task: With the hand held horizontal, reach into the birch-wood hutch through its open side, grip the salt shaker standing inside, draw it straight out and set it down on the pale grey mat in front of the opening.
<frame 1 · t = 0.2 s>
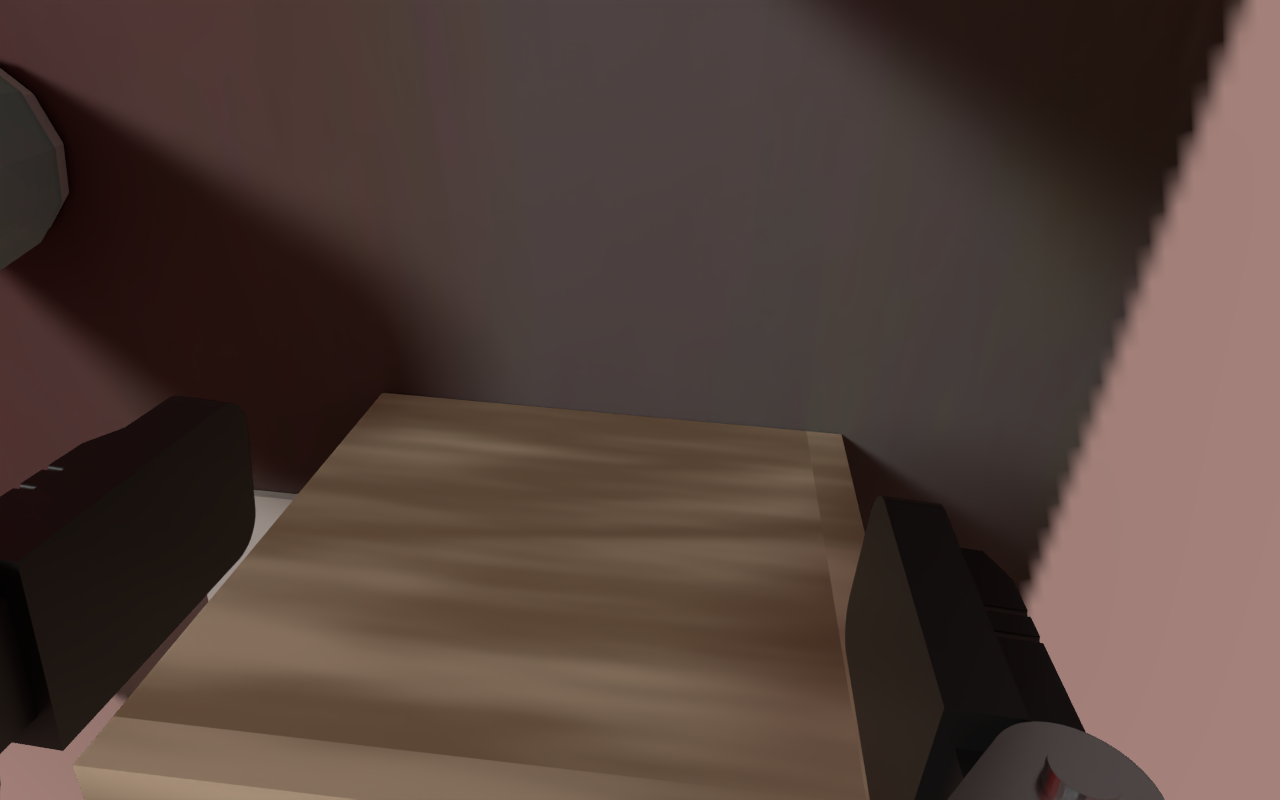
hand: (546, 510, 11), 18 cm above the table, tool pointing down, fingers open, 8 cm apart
hutch: (596, 627, 35), on the table
mat: (303, 577, 35), on the table
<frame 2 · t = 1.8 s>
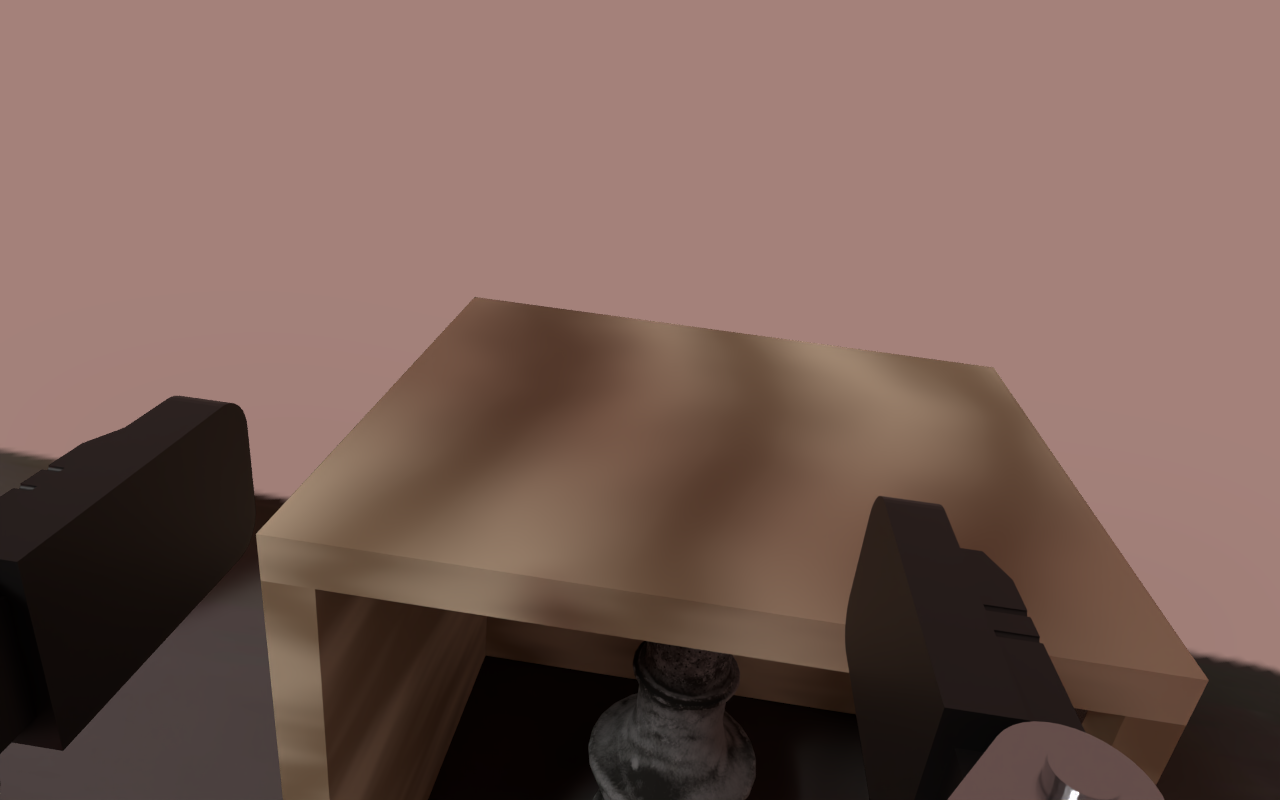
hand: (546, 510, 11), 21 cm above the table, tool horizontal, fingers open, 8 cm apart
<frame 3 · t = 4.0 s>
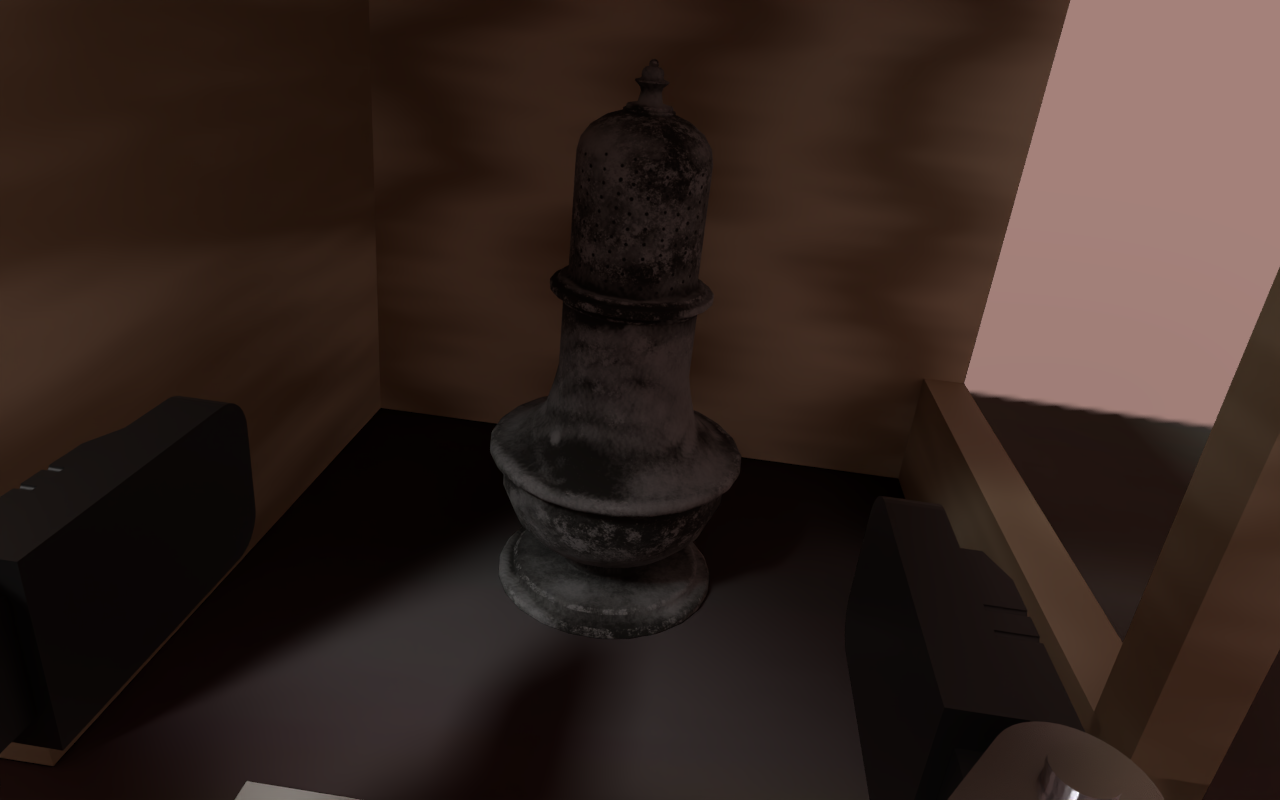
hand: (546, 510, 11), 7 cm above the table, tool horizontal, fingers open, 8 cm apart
salt shaker: (604, 575, 22), on the table
hutch: (604, 567, 22), on the table
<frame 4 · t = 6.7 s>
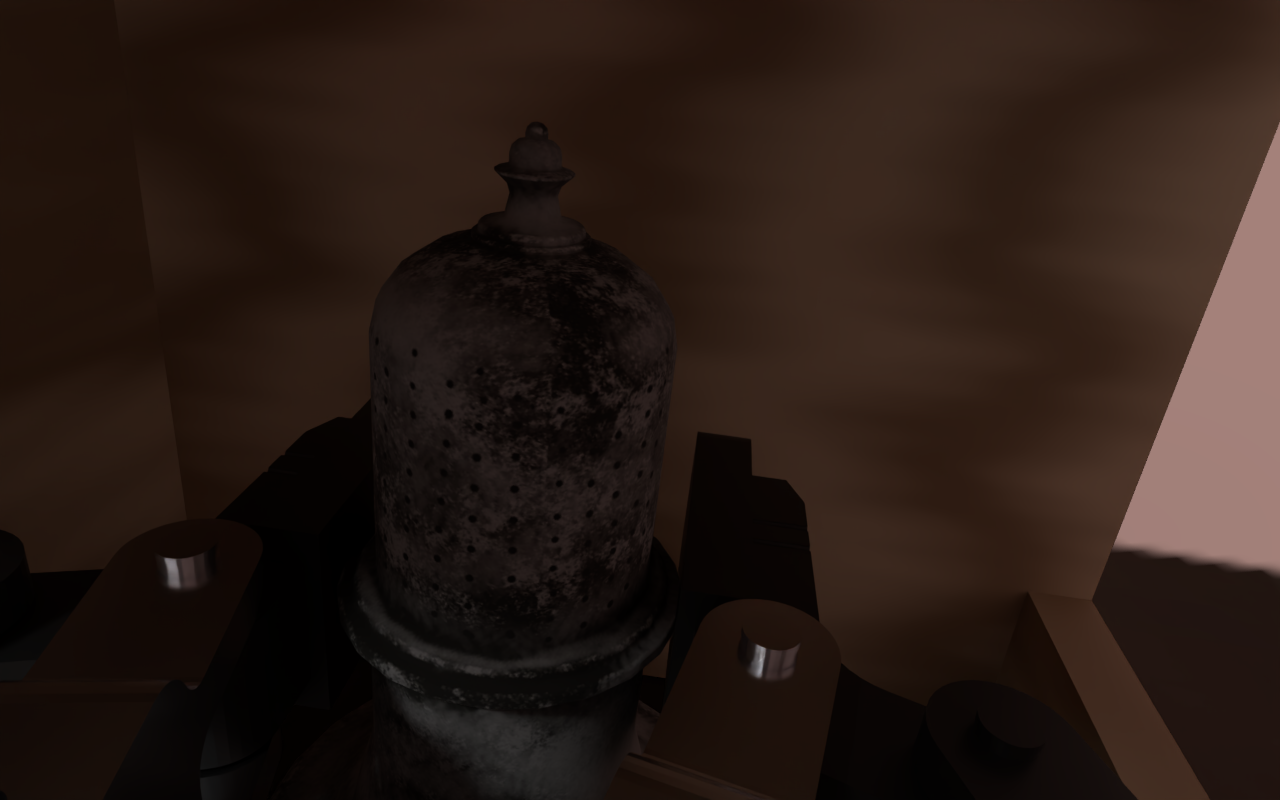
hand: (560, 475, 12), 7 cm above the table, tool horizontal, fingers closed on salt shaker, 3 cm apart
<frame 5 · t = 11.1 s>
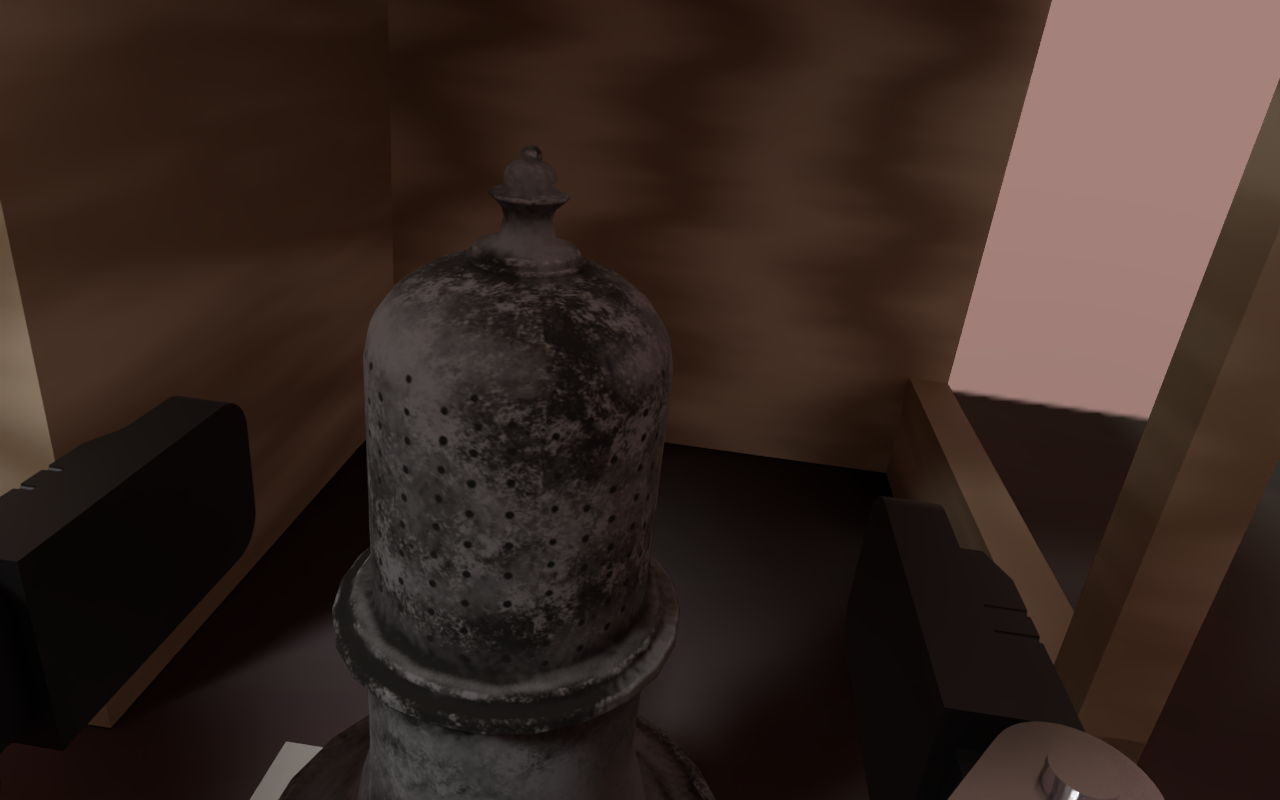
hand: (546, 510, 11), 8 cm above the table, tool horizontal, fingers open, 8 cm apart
hutch: (608, 554, 23), on the table
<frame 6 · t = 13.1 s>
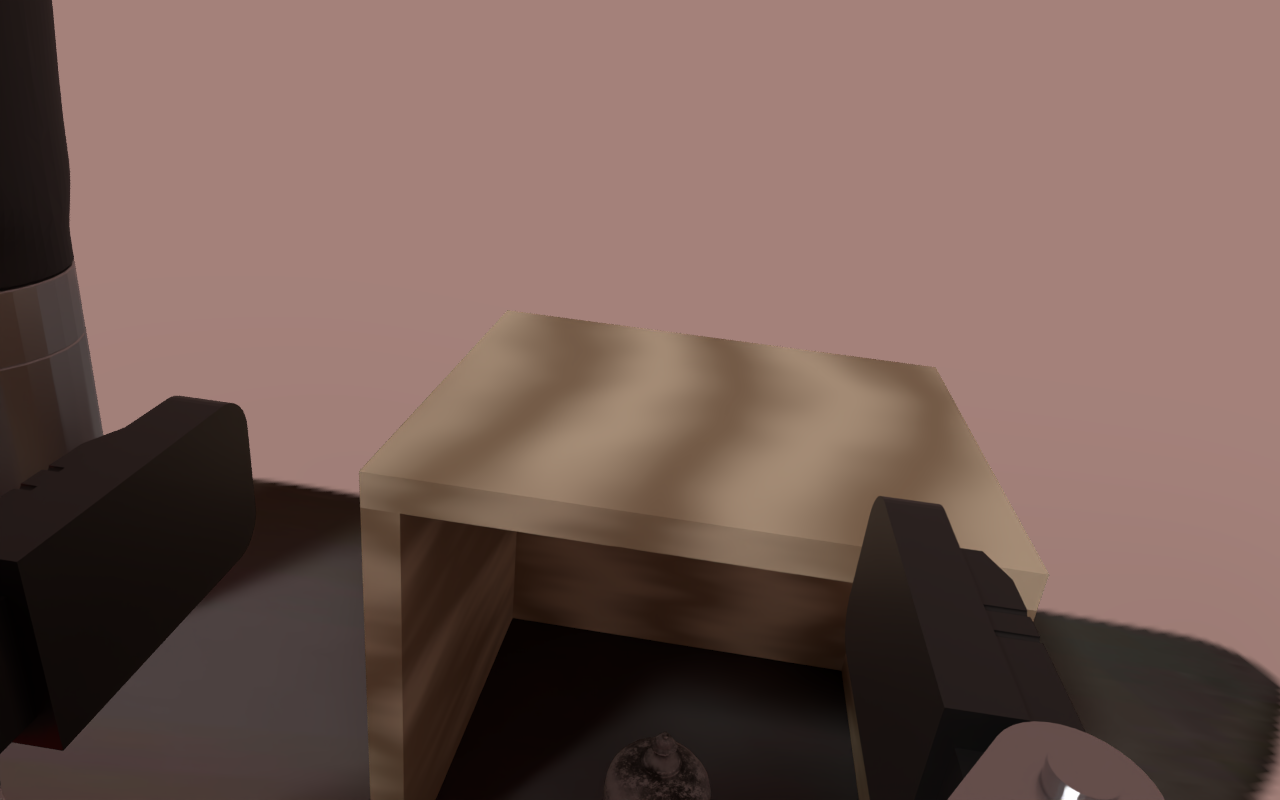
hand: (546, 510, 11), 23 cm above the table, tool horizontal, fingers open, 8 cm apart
hutch: (660, 746, 38), on the table
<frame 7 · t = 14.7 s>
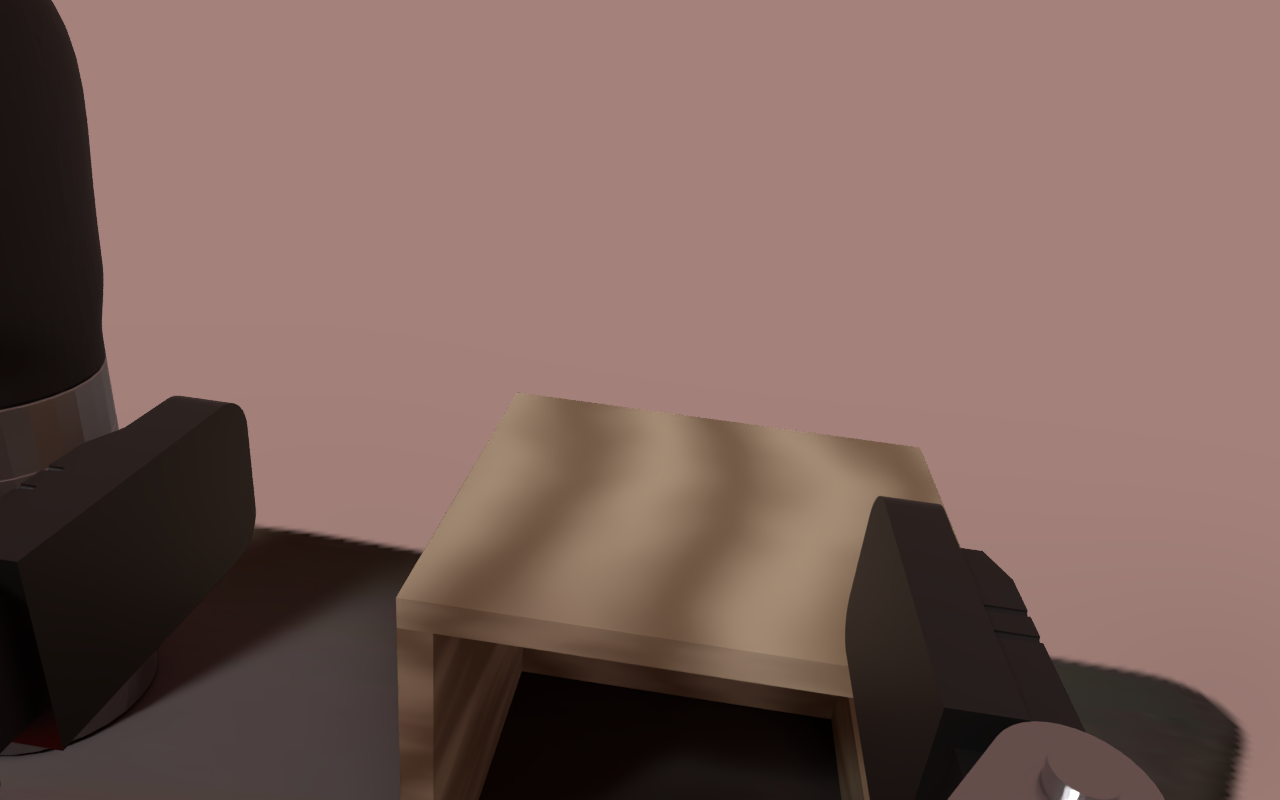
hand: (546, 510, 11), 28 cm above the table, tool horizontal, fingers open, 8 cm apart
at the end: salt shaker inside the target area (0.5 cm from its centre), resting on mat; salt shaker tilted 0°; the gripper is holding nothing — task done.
